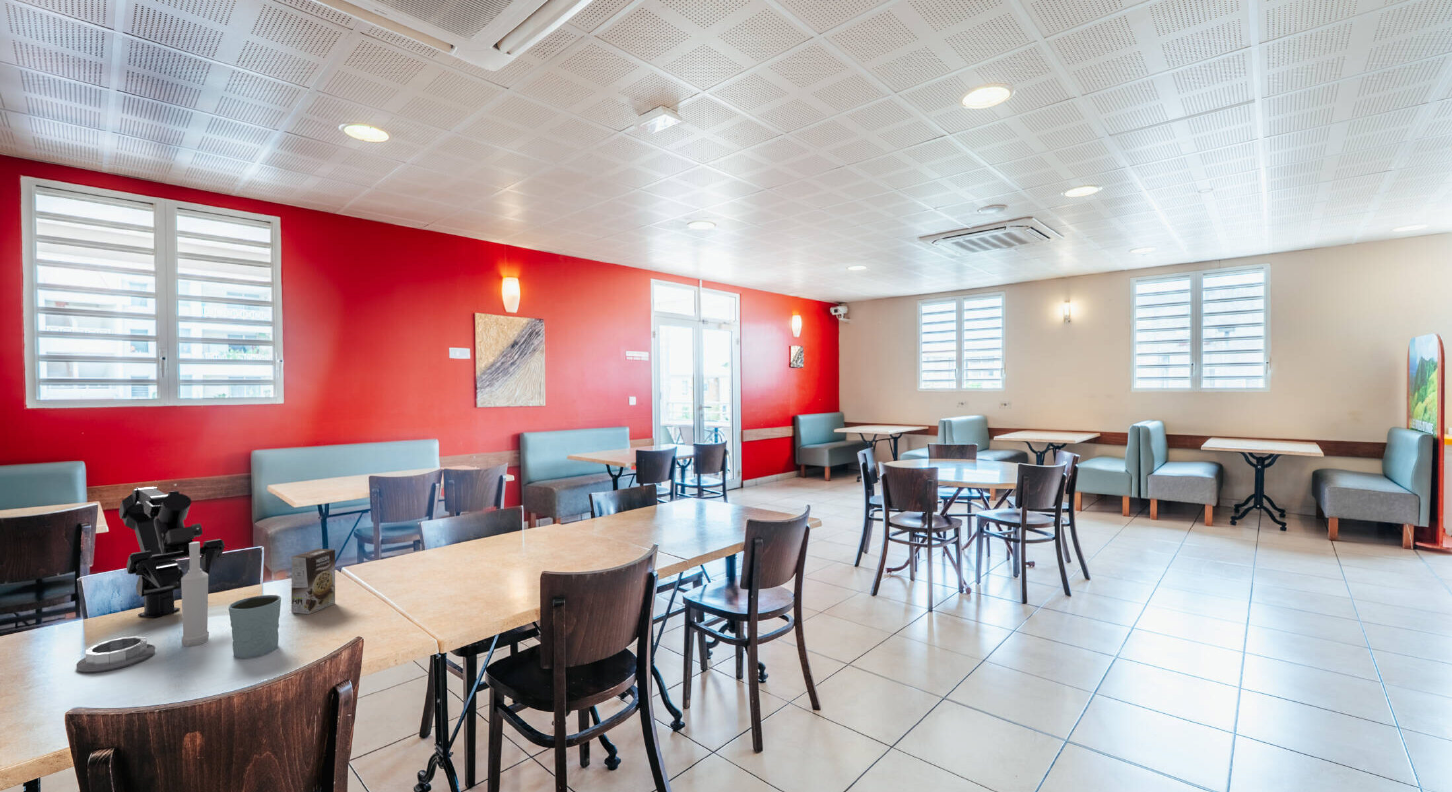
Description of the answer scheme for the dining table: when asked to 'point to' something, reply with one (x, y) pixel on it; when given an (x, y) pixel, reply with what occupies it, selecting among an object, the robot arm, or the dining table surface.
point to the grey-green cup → (255, 625)
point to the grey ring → (115, 654)
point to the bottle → (194, 600)
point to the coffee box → (313, 581)
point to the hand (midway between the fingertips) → (184, 582)
